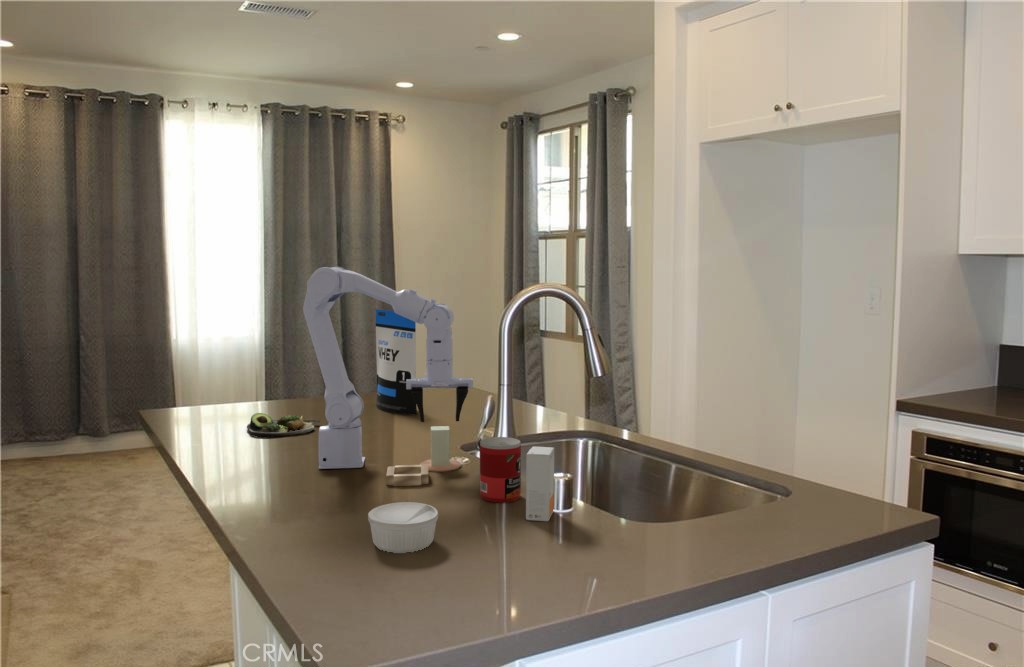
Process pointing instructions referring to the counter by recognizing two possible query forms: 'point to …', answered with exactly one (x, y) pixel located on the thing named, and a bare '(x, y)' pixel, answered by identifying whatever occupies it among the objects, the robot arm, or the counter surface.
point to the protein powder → (395, 362)
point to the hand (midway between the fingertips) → (439, 420)
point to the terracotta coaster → (453, 466)
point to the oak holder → (407, 475)
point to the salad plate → (278, 425)
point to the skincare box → (539, 483)
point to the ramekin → (403, 526)
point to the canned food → (500, 469)
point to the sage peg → (440, 446)
